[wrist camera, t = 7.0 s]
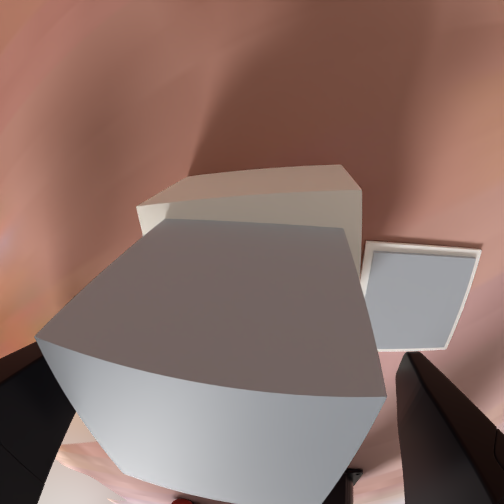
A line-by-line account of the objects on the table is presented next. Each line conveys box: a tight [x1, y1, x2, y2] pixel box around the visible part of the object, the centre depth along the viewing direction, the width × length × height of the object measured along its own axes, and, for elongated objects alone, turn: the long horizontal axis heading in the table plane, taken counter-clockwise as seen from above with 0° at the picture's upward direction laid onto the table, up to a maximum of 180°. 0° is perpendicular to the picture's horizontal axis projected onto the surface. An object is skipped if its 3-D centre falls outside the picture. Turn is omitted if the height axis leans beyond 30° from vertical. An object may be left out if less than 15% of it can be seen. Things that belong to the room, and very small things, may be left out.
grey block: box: [34, 219, 387, 504], centre depth 7 cm, size 6×6×6 cm
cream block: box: [136, 165, 362, 281], centre depth 12 cm, size 7×7×5 cm
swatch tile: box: [360, 241, 482, 352], centre depth 14 cm, size 7×7×1 cm
